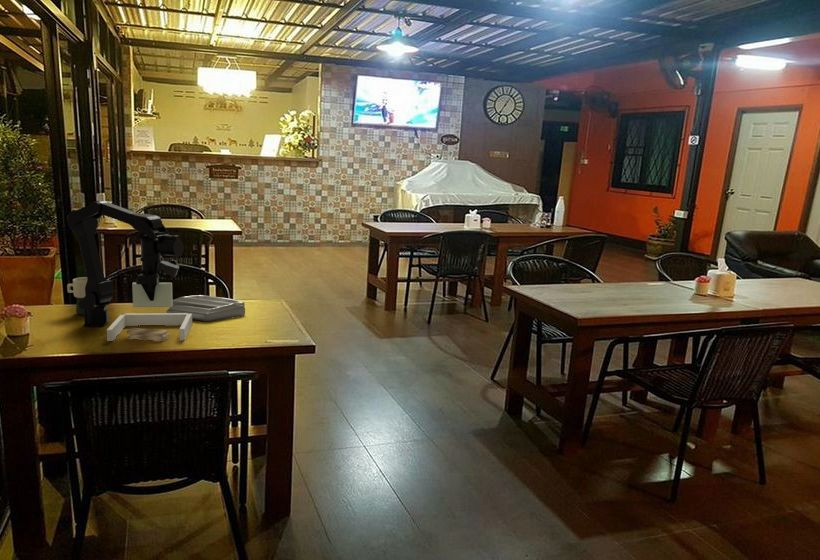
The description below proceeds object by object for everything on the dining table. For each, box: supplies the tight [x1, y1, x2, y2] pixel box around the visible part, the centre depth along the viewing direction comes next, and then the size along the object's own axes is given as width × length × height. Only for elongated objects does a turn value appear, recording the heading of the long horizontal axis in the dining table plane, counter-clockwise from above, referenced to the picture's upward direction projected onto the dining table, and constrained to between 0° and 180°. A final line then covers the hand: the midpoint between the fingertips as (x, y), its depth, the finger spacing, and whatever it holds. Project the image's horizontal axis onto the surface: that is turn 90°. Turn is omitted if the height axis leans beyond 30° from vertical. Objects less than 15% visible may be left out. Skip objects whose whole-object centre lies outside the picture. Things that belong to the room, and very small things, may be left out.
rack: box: [106, 312, 193, 342], centre depth 196 cm, size 23×20×4 cm
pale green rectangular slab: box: [131, 281, 174, 308], centre depth 196 cm, size 12×2×8 cm, turn 103°
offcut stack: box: [126, 327, 170, 342], centre depth 190 cm, size 12×4×3 cm, turn 86°
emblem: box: [166, 294, 246, 322], centre depth 224 cm, size 28×5×28 cm
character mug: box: [66, 276, 87, 315], centre depth 212 cm, size 11×7×13 cm, turn 107°
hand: (152, 299), depth 196 cm, fingers closed on pale green rectangular slab, 2 cm apart
